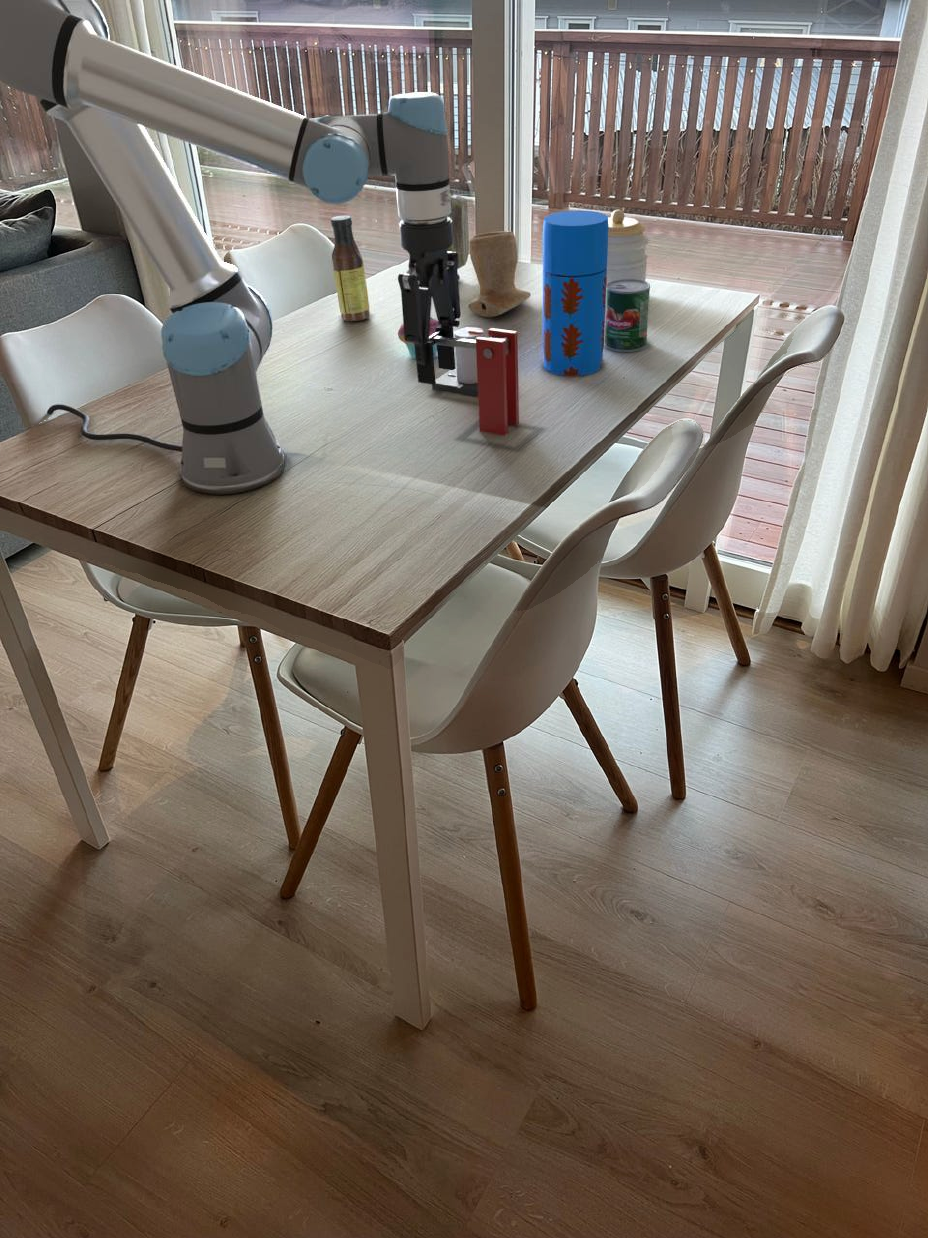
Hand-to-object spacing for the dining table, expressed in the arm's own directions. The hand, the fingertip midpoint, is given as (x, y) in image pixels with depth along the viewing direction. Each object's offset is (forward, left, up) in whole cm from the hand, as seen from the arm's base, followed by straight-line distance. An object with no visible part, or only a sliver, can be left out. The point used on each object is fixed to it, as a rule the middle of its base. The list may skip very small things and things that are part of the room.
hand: (437, 375), depth 145 cm
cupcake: (-18, +25, -8) cm, 32 cm away
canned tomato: (+15, +44, -8) cm, 47 cm away
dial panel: (-1, +13, -8) cm, 15 cm away
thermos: (+10, +31, -8) cm, 34 cm away
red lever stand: (+11, 0, -8) cm, 13 cm away
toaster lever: (+6, 0, +5) cm, 7 cm away
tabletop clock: (-37, +68, -8) cm, 78 cm away
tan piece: (-18, +55, -8) cm, 59 cm away
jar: (+3, +69, -8) cm, 70 cm away
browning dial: (-1, +13, -6) cm, 14 cm away
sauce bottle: (-43, +39, -8) cm, 59 cm away
